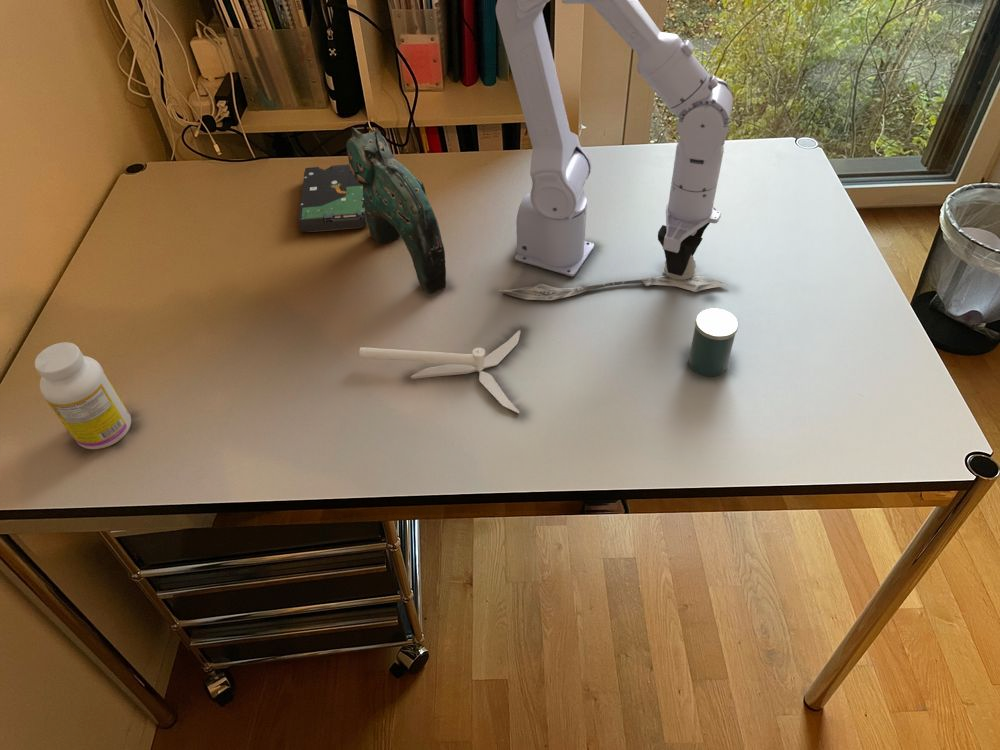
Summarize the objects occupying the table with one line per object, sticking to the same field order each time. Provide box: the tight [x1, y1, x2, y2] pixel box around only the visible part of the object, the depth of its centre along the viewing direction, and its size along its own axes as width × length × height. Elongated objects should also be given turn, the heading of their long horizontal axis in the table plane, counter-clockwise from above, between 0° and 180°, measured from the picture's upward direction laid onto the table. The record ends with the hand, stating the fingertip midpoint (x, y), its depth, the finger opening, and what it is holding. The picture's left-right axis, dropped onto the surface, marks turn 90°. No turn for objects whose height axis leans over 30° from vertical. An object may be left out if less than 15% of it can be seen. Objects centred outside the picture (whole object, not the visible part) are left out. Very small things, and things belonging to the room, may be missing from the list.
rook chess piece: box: [663, 231, 697, 280], centre depth 108 cm, size 4×4×8 cm
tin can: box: [688, 307, 739, 377], centre depth 96 cm, size 5×5×7 cm
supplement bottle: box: [34, 341, 132, 450], centre depth 90 cm, size 7×7×13 cm
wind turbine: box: [358, 330, 522, 414], centre depth 99 cm, size 4×14×21 cm
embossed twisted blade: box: [497, 274, 731, 301], centre depth 108 cm, size 32×1×5 cm
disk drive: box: [297, 164, 368, 233], centre depth 125 cm, size 10×3×15 cm
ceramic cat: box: [345, 127, 447, 295], centre depth 108 cm, size 20×6×20 cm, turn 33°
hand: (680, 263), depth 109 cm, fingers closed on rook chess piece, 4 cm apart
